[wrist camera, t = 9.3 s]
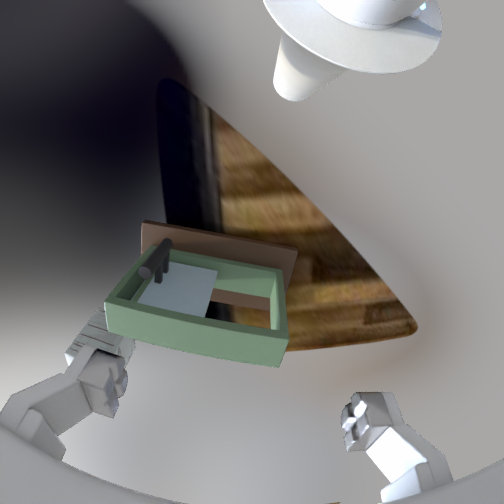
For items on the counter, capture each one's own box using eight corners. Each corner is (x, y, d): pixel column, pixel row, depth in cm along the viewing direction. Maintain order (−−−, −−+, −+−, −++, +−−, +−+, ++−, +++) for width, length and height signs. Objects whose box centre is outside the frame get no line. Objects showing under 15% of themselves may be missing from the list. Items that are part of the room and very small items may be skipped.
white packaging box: (136, 347, 47) (111, 399, 36) (101, 336, 47) (72, 383, 35) (135, 317, 44) (105, 370, 33) (98, 305, 44) (62, 352, 32)
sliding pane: (162, 229, 35) (126, 269, 25) (222, 240, 35) (206, 286, 25) (160, 262, 37) (128, 310, 27) (217, 274, 37) (201, 327, 27)
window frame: (145, 219, 37) (87, 271, 23) (297, 247, 38) (314, 316, 24) (143, 282, 41) (99, 348, 27) (280, 308, 42) (285, 387, 28)
